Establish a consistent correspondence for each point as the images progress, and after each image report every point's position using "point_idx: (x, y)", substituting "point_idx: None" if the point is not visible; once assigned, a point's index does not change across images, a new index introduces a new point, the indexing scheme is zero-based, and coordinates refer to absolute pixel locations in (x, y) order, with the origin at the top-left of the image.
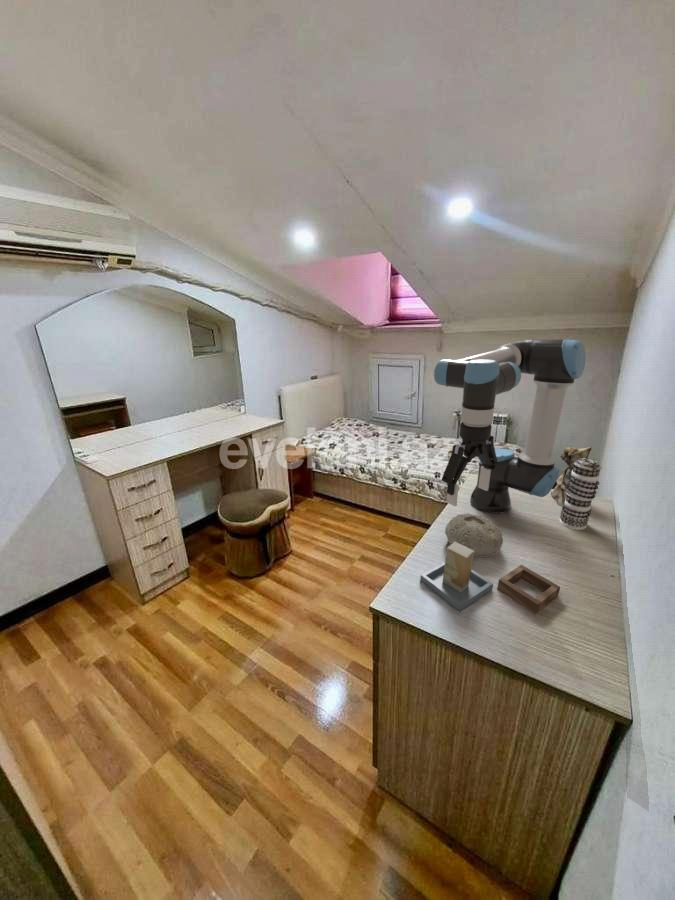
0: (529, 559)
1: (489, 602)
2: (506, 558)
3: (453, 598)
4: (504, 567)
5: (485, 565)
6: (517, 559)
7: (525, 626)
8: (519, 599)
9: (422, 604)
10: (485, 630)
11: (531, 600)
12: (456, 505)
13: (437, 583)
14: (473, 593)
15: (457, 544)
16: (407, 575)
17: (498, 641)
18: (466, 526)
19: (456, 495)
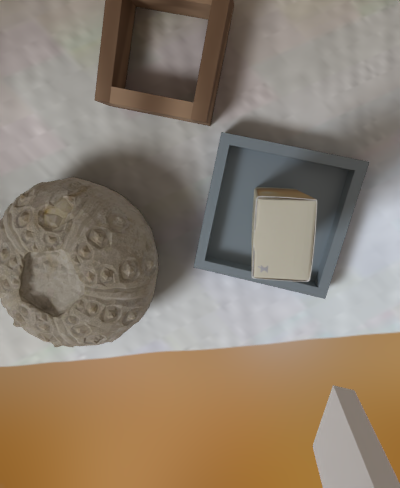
0: (29, 110)
1: (271, 119)
2: (71, 160)
3: (356, 188)
4: (111, 148)
5: (140, 191)
6: (53, 135)
7: (293, 9)
8: (222, 54)
9: (394, 245)
10: (376, 83)
11: (227, 10)
12: (335, 386)
13: None
14: (299, 156)
15: (264, 261)
16: (320, 324)
17: (391, 40)
18: (92, 291)
19: (383, 466)
